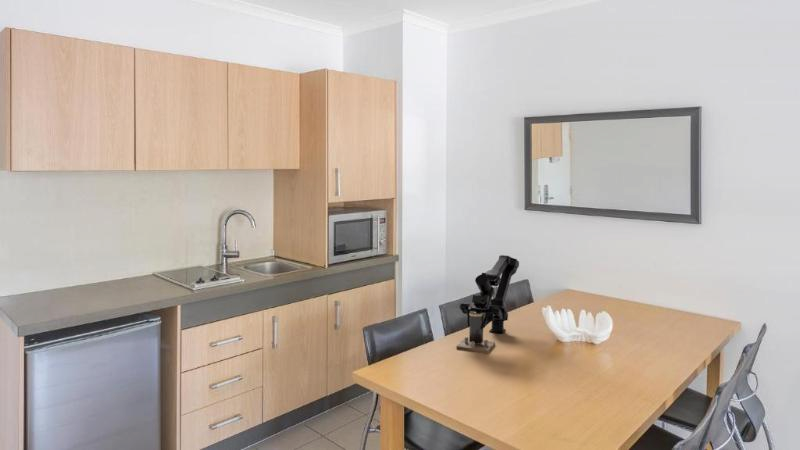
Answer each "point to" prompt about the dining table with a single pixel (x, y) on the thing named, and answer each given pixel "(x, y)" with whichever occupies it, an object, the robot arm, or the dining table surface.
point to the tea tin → (476, 326)
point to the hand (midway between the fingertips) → (475, 327)
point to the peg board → (476, 346)
